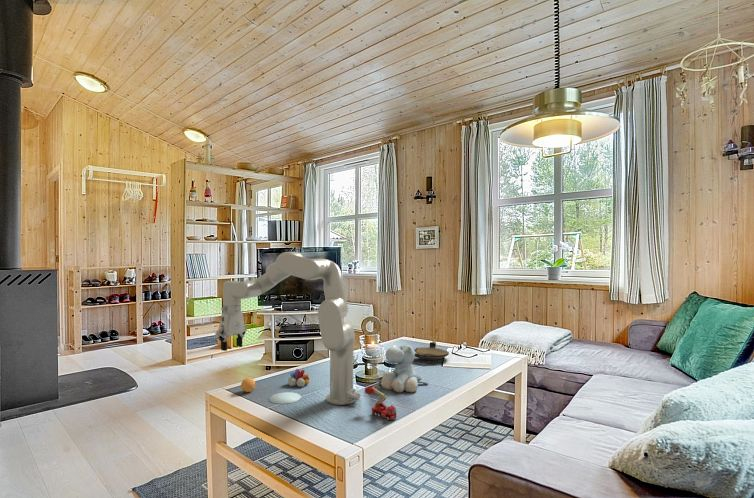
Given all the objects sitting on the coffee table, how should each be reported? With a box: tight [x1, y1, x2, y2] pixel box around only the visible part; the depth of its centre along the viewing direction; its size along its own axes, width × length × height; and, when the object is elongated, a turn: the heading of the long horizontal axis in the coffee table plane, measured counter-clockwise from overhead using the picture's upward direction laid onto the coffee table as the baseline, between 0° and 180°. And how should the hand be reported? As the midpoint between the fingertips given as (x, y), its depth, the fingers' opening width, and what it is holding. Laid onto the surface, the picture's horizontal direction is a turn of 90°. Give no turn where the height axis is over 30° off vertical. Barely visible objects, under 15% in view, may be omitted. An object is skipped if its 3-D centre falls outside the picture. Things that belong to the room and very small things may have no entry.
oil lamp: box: [413, 339, 450, 361], centre depth 238 cm, size 22×30×8 cm
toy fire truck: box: [364, 385, 397, 421], centre depth 156 cm, size 3×14×10 cm, turn 48°
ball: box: [240, 377, 256, 393], centre depth 181 cm, size 6×6×6 cm
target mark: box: [268, 391, 302, 405], centre depth 173 cm, size 13×13×1 cm
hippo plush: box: [380, 344, 430, 393], centre depth 188 cm, size 18×23×18 cm
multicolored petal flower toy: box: [287, 368, 311, 388], centre depth 191 cm, size 8×10×7 cm
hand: (231, 348), depth 185 cm, fingers open, 7 cm apart
